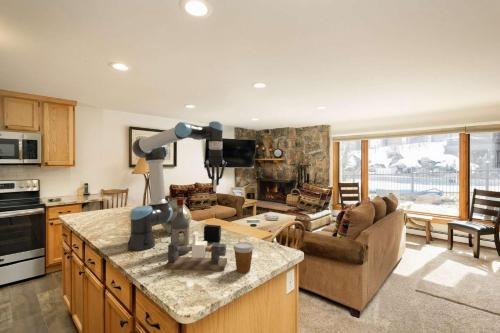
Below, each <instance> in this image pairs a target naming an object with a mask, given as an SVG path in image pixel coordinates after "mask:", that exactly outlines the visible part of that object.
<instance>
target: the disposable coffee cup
mask: <svg viewBox="0 0 500 333" xmlns="http://www.w3.org/2000/svg"><path fill="white" fill-rule="evenodd" d="M233 250H234V257H235V267H236V272H237V273H239V274H247V272H248V273H249V272H251V266H252V259H253V251H254V245H253V244H252V243H251V242H247V241H239V242H237V243H234V246H233Z"/></svg>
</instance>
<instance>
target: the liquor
mask: <svg viewBox="0 0 500 333" xmlns="http://www.w3.org/2000/svg"><path fill="white" fill-rule="evenodd" d="M176 199H177V216H176V217H175V219H174V220H173V221H172V222H171V233H170V243H171V242H172V241H178V246H181V247H190V223H189V222H188V221H187V220H186V219H185V217H184V215H183V205H184V206H185V201H184V199H185V198H176ZM189 253H190V251H178V257H180V256H184V255H187V254H189Z"/></svg>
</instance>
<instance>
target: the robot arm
mask: <svg viewBox="0 0 500 333" xmlns="http://www.w3.org/2000/svg"><path fill="white" fill-rule="evenodd" d="M223 132H224V129H223V123H222V122H221V121H216V120H215V121H210V122H208V125H206V126H205V125H196V124H192V123H188V122H184V121H183V122H181V121H180V122H178V123H176V125H175V127H174V126H173V127H172V128H169V129H167V130H163V131H161V132H158V133H156V134H153V135H150V136H148V137H145V136H144V137H143V136H142V137H141V138H140V137H139V138H138V139H136V140H134V142H133V143H132V146H131V150H132V153H133V154H134V155H135V156H136V157H138V158H140V159H145V160H144V161H145V163H147V166H148V173H149V174H148V176H149V178H148V179H149V190H150V202H149V203H148V205H140V206H136V207H134V208H133V209H132V210H130V236H129V239H128V241H127V246H126V247H127V248H126V249H127V250H129V251H136V252H137V251H139V252H140V251H145V250H150V249H152V248H154V247H155V246H156V241H155V237H154V235H153V227H154V226H158V225H161V224H163V223H165V222H168V221H169V220H170V219H171V217H172V214H173V211H172V208H171V206H170V205H168V201H166V200H165V197H166V193H165V192H166V191H165V180H164V167H163V165H164V164H163V163H164V162H165V158H167V155H168V152H169V151H168V147H167V145H170V144H173V143H176V142H178V141H181V140H185V139H192V140H197V141H201V140H208V149H209V150H208V158H207V160H206V161H204V162H203V164H204V165H205V169H206V173H207V177H208V179H211V185H212V186H213V192H218V186H219V185H220V180H221V179H223V175H224V172H225V168H226V165H227V164H228V162H227V161H225V160H224V158H223ZM221 164H222V166H221V170H220V165H221ZM210 165H211V169H210ZM215 168H216V169H215ZM215 174H216V175H215ZM215 176H216V177H215Z"/></svg>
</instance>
